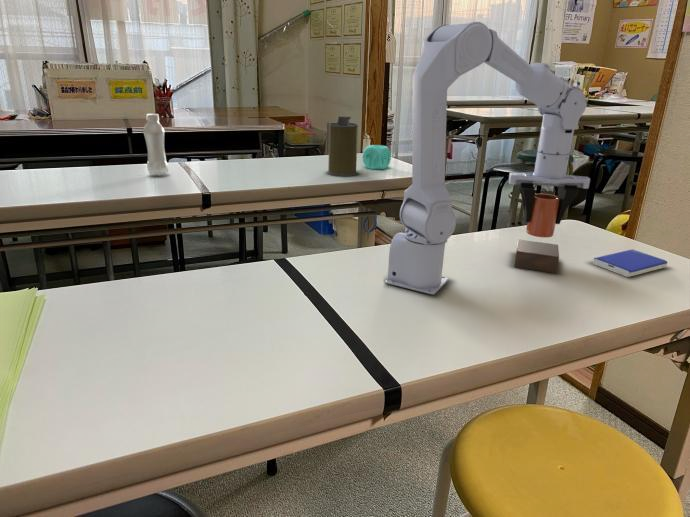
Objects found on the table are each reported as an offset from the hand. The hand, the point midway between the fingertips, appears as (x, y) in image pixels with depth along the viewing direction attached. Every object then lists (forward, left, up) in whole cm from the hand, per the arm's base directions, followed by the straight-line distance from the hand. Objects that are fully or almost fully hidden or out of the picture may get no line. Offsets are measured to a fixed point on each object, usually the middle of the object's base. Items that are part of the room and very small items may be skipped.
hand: (541, 221), depth 101 cm
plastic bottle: (-125, +14, -10) cm, 126 cm away
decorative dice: (-73, +74, -10) cm, 104 cm away
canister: (-78, +56, -10) cm, 96 cm away
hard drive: (+17, +12, -10) cm, 23 cm away
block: (0, +2, -10) cm, 10 cm away
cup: (0, 0, -2) cm, 2 cm away
